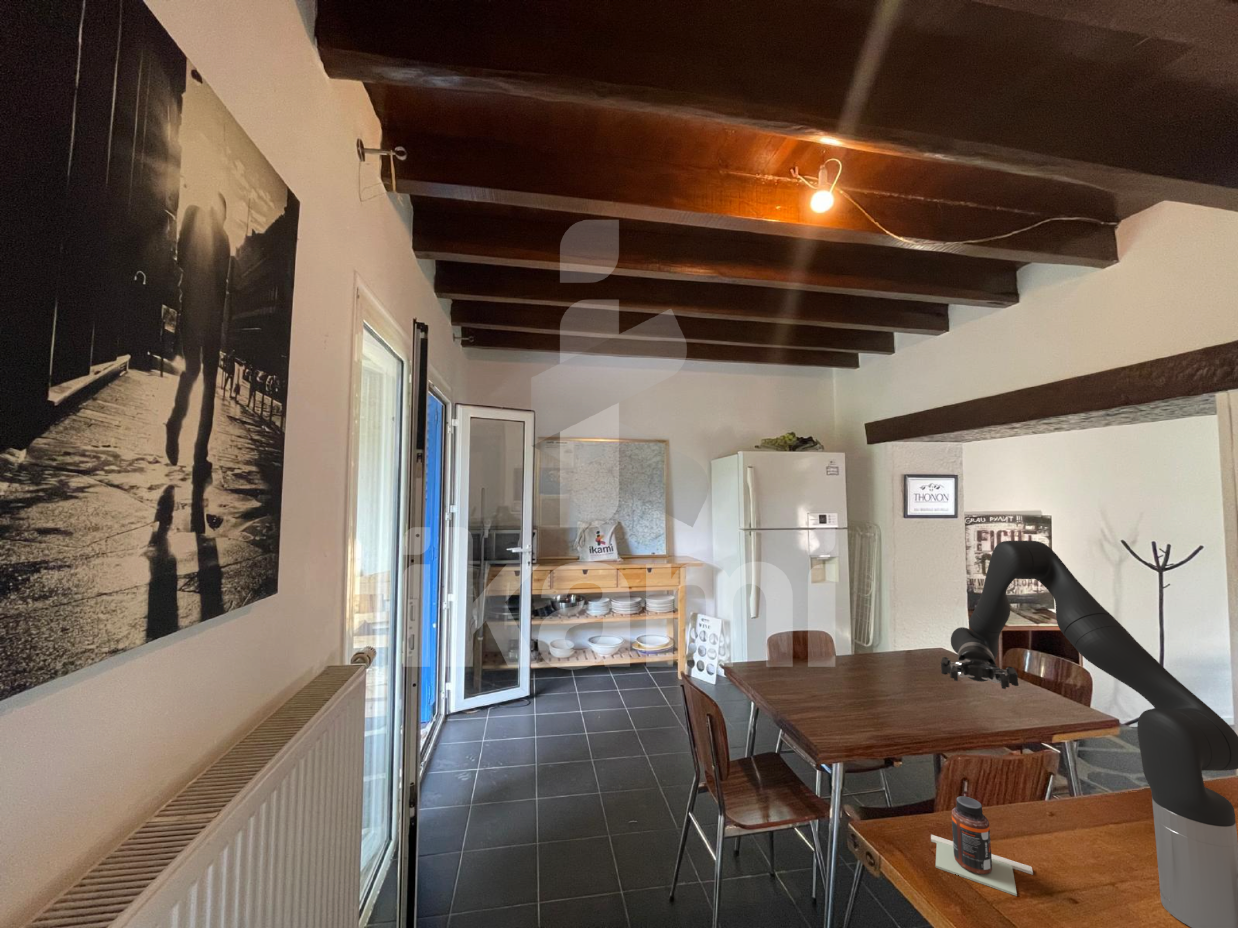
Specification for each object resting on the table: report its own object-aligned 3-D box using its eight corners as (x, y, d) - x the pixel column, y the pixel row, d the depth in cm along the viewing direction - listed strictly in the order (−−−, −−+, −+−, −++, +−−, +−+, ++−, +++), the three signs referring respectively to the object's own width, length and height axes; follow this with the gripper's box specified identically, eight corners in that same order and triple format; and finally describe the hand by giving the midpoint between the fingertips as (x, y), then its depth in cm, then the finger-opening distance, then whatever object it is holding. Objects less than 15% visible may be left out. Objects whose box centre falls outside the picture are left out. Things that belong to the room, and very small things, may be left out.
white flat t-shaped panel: (1031, 869, 92) (1031, 866, 92) (1039, 903, 84) (1039, 900, 84) (931, 836, 101) (931, 834, 101) (929, 865, 93) (929, 862, 93)
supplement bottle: (999, 878, 89) (995, 813, 90) (963, 873, 90) (959, 809, 91) (982, 855, 95) (978, 794, 96) (948, 851, 96) (944, 791, 97)
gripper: (941, 640, 125) (939, 657, 112) (1011, 649, 117) (1019, 668, 104) (942, 670, 124) (941, 690, 111) (1014, 682, 116) (1022, 705, 103)
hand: (979, 680), depth 107 cm, fingers open, 8 cm apart
